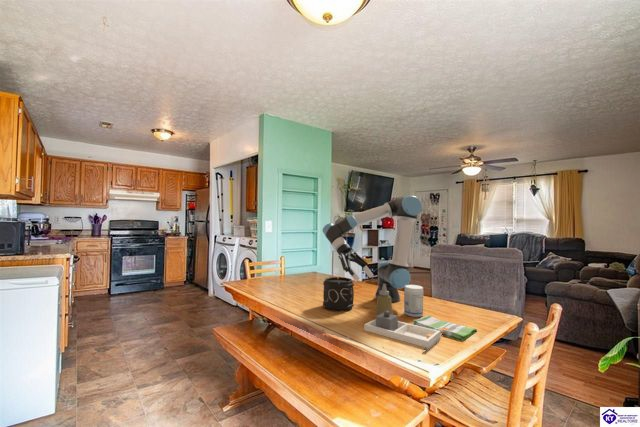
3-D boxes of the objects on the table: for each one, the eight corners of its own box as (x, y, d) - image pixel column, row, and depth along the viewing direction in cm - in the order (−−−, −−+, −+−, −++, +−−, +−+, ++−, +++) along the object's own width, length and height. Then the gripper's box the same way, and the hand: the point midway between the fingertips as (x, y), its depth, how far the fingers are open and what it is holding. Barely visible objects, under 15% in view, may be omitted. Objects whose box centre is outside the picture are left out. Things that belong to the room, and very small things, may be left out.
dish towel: (428, 319, 150) (428, 312, 151) (477, 332, 134) (477, 324, 134) (411, 328, 139) (411, 320, 139) (462, 342, 122) (462, 334, 122)
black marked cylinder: (343, 314, 156) (343, 284, 156) (316, 308, 167) (316, 280, 167) (360, 306, 170) (360, 279, 171) (334, 301, 181) (334, 275, 182)
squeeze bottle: (394, 319, 148) (394, 283, 149) (389, 324, 141) (389, 286, 142) (379, 317, 152) (379, 281, 153) (373, 321, 145) (373, 284, 146)
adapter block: (383, 325, 137) (383, 308, 137) (397, 329, 132) (397, 311, 132) (375, 330, 131) (375, 311, 131) (390, 333, 127) (390, 314, 127)
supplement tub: (400, 312, 160) (400, 284, 161) (416, 311, 163) (416, 284, 163) (410, 318, 151) (410, 288, 151) (427, 316, 153) (427, 288, 154)
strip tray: (380, 324, 142) (380, 316, 142) (440, 339, 124) (440, 331, 124) (364, 332, 131) (364, 324, 131) (427, 350, 113) (427, 341, 113)
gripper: (350, 250, 176) (372, 279, 165) (323, 253, 157) (346, 286, 146) (358, 241, 172) (381, 270, 162) (331, 243, 153) (355, 276, 143)
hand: (365, 278), depth 154 cm, fingers open, 13 cm apart
